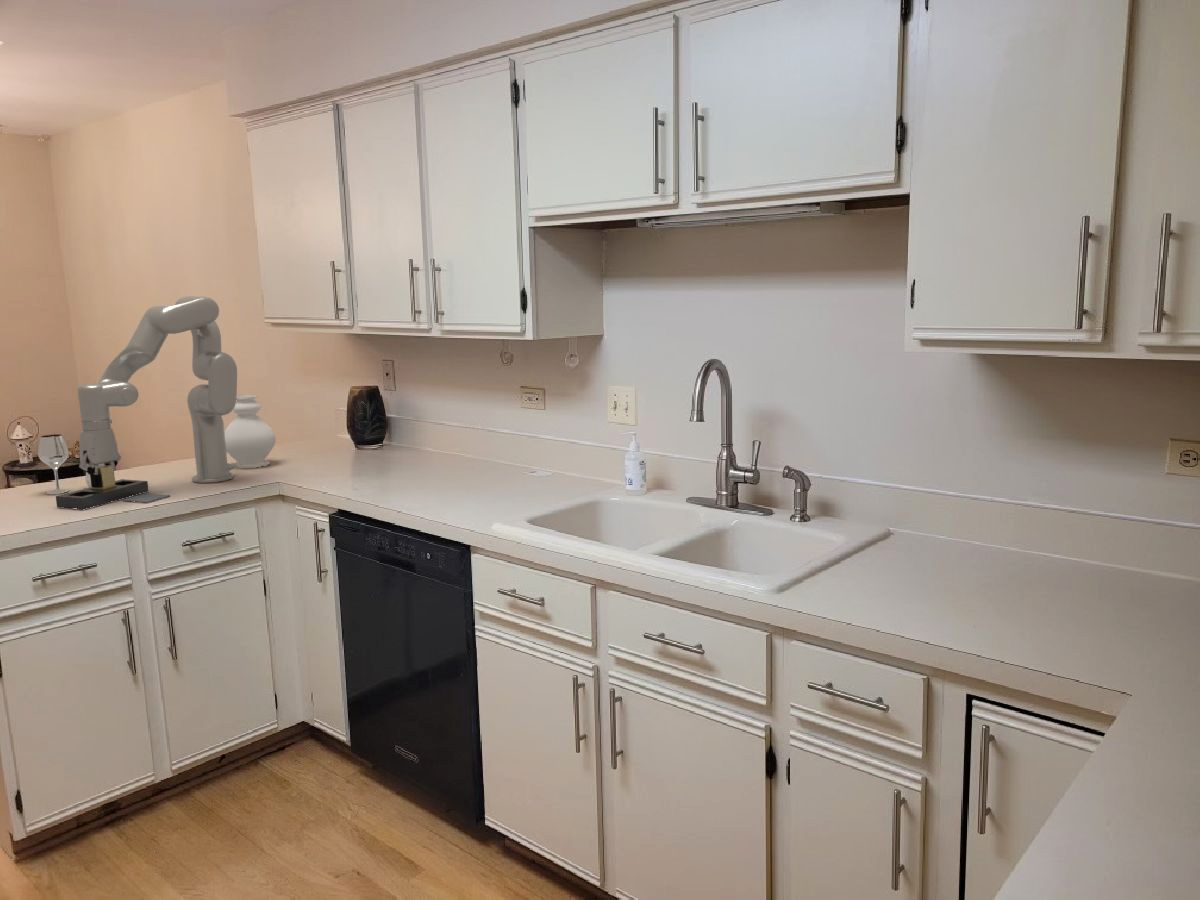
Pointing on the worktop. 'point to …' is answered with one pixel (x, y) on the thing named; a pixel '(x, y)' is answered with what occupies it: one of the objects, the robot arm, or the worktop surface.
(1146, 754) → the worktop surface
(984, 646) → the worktop surface
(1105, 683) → the worktop surface
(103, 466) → the brass peg
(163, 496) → the grey rubber mat
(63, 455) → the wineglass
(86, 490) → the dark grey compartment tray
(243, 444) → the decorative vase
